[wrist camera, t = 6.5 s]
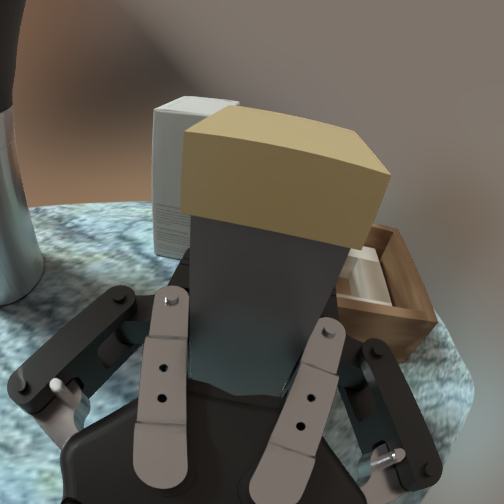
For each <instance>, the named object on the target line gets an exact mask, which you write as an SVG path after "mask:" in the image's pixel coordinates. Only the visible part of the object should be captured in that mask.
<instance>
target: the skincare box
mask: <svg viewBox="0 0 504 504" xmlns="http://www.w3.org/2000/svg"><path fill="white" fill-rule="evenodd" d="M228 105H234V106H240V102H238V101H231V100H223V99H213V98H203V97H193V96H183V97H181V98H179V99H177V100H174V101H172V102H170V103H167V104H165V105H163V106H160V107H158V108H156V109H154V119H153V140H152V143H153V144H152V216H153V239H154V253H155V254H156V255H160V256H165V257H171V258H176V259H182V258H183V255H184V253H185V252H186V250H187V249H188V248H190V223H191V215H188V214H183V213H180V211H181V177H182V157H183V140H184V131H185V130H187V129H188V128H190V127H192V126H193V125H195V124H197V123H198V122H200V121H202V120H203V119H205V118H207V117H209V116H210V115H212V114H214V113H216V112H217V111H219V110H221V109H223V108H225V107H227V106H228Z"/></svg>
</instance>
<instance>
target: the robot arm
mask: <svg viewBox="0 0 504 504" xmlns="http://www.w3.org/2000/svg"><path fill="white" fill-rule="evenodd" d="M25 2H26V0H0V305H6V304H10V303H12V302H15V301H17V300H19V299H20V298H22V297H24V296H25V295H26V294H27V293H29V292H30V291H31V290H32V289H33V288H34V286H35V285H36V284H37V282H38V281H39V280H40V278H41V276H42V273H43V270H44V260H43V257H42V254H41V251H40V248H39V245H38V242H37V238H36V235H35V232H34V228H33V224H32V221H31V217H30V213H29V209H28V205H27V201H26V197H25V192H24V188H23V183H22V178H21V173H20V166H19V161H18V154H17V147H16V138H15V130H14V119H13V107H12V105H13V103H12V89H13V82H14V76H15V68H16V55H17V45H18V37H19V31H20V25H21V20H22V16H23V11H24V7H25ZM189 268H190V248H188V249H187V250H186V252H185V253H184V255H183V258H182V259H181V261H180V263H179V265H178V267H177V268H176V270H175V272H174V274H173V276H172V278H171V280H170V282H169V284H168V286H166V287H163V288H161V289H160V290H158V291H157V293H156V294H155V295H149V296H135V293H134V291H133V290H132V289H131V288H129V287H127V286H121V285H120V286H114V287H112V288H110V289H108V290H107V291H106V292H105V293H103V294H102V295H101V296H100V297H99V298H97V299H96V300H95V301H94V302H93V303H91V304H90V305H89V306H88V307H87V308H85V309H84V310H83V311H82V312H81V313H79V314H78V315H77V316H76V317H75V318H73V319H72V320H71V321H70V322H69V323H68V324H67V325H65V326H64V327H63V328H62V329H61V330H60V331H58V332H57V333H56V334H55V335H54V336H53V337H52V338H51V339H49V340H48V341H47V342H46V343H45V344H44V345H43V346H42V347H41V348H39V349H38V350H37V351H36V352H35V353H34V354H33V355H32V356H31V357H30V358H29V359H28V360H26V361H25V362H24V363H23V364H22V365H21V366H20V367H19V368H18V369H17V370H16V371H15V372H14V373H13V374H12V375H11V376H10V378H9V380H8V384H7V391H8V394H9V396H10V398H11V399H12V400H13V401H14V402H15V403H16V404H17V405H19V406H20V407H21V409H22V410H23V411H24V412H26V413H27V414H28V415H29V416H31V417H32V418H33V419H34V420H35V421H36V422H37V423H38V424H39V426H40V427H41V428H42V429H43V430H44V431H45V433H46V434H47V435H48V436H49V437H50V438H51V439H52V441H53V442H54V443H55V444H56V445H57V446H58V447H59V448H60V449H61V454H60V467H61V472H62V478H63V498H62V501H61V504H386V503H388V502H390V501H392V500H394V499H396V498H398V497H400V496H401V495H404V494H407V493H411V492H414V491H418V490H421V489H424V488H427V487H430V486H433V485H434V484H436V483H437V482H438V480H439V479H440V477H441V475H442V470H443V467H442V462H441V459H440V457H439V454H438V452H437V449H436V447H435V444H434V442H433V439H432V437H431V435H430V432H429V430H428V427H427V425H426V423H425V421H424V418H423V416H422V414H421V411H420V409H419V407H418V405H417V403H416V400H415V398H414V396H413V394H412V392H411V390H410V388H409V385H408V383H407V381H406V379H405V377H404V375H403V373H402V371H401V369H400V367H399V365H398V363H397V361H396V359H395V357H394V355H393V353H392V351H391V349H390V348H389V346H388V345H387V344H386V343H385V342H384V341H382V340H380V339H377V338H370V339H368V340H366V341H365V342H364V343H363V342H361V341H358V340H356V339H354V338H352V337H350V336H349V335H347V334H346V332H345V329H344V327H343V325H342V324H341V323H340V322H339V315H338V305H337V297H336V296H337V295H336V285H335V286H334V288H333V290H332V293H331V295H330V297H329V299H328V301H327V303H326V305H325V307H324V310H323V312H322V314H321V316H320V318H319V320H318V322H317V324H316V326H315V328H314V330H313V332H312V334H311V336H310V337H309V339H308V341H307V343H306V345H305V347H304V349H303V351H302V353H301V355H300V357H299V359H298V361H297V363H296V364H295V366H294V367H293V369H292V371H291V373H290V376H289V378H288V380H287V383H286V385H285V388H284V390H283V392H282V394H281V396H280V397H276V396H270V395H243V396H236V395H232V394H230V393H228V392H226V391H223V390H221V389H219V388H217V387H215V386H213V385H211V384H209V383H205V382H201V381H197V380H193V379H190V374H189V365H190V303H189ZM141 344H144V351H143V359H142V368H141V377H140V388H139V397H138V398H136V399H135V400H133V401H131V402H130V403H128V404H126V405H125V406H123V407H121V408H120V409H118V410H116V411H114V412H113V413H111V414H109V415H107V416H106V417H104V418H102V419H100V420H99V421H97V422H95V423H93V424H91V425H90V426H88V427H86V428H84V421H85V419H86V417H87V416H88V414H89V412H90V407H91V406H90V401H89V398H90V397H91V396H92V395H93V394H94V393H95V392H96V391H97V390H98V389H99V388H100V387H101V386H102V385H103V384H104V383H105V382H106V381H107V380H108V379H109V377H110V376H111V375H112V374H113V373H114V372H115V371H116V370H117V369H118V368H119V367H120V366H121V365H122V364H123V363H124V362H125V361H126V360H127V359H128V358H129V357H130V356H131V355H132V354H133V353H134V352H135V351H136V350H137V349H138V348H139V347H140V346H141ZM337 386H338V389H339V392H340V394H341V397H342V400H343V402H344V405H345V408H346V411H347V413H348V416H349V419H350V421H351V424H352V427H353V430H354V433H355V435H356V438H357V441H358V444H359V447H360V450H361V452H362V455H363V456H362V457H361V458H360V459H359V461H358V465H357V473H358V480H357V482H355V481H354V479H353V478H352V477H351V475H350V474H349V473H348V471H347V470H346V469H345V467H344V466H343V464H342V463H341V462H340V460H339V459H338V458H337V456H336V455H335V453H334V452H333V451H332V449H331V448H330V446H329V445H328V444H327V442H326V441H325V439H324V438H323V436H322V434H323V431H324V428H325V425H326V421H327V418H328V415H329V412H330V409H331V405H332V402H333V398H334V395H335V391H336V388H337Z"/></svg>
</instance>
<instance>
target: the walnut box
mask: <svg viewBox="0 0 504 504" xmlns="http://www.w3.org/2000/svg"><path fill="white" fill-rule="evenodd" d="M335 285H336V295H337V296H336V297H337V305H338V315H339V322H340V323H341V324H342V325H343V327H344V329H345V332H346V334H347V335H349V336H350V337H352V338H354V339H356V340H358V341H361V342H363V343H364V342H365V341H366V340H368V339H370V338H377V339H380V340H382V341H384V342H385V343H386V344H387V345H388V346H389V348H390V349H391V351H392V353H393V355H394V357H395V359H396V361H397V363H403V362H404V361H405V360H406V359H407V358H408V357H409V356H410V355H411V354H412V352H413V351H414V350H415V349H416V348H417V347H418V346H419V344H420V343H421V342H422V341H423V340H424V339H425V337H426V336H427V335H428V334H429V333H430V331H431V330H432V329H433V328H434V327H435V325H436V324H437V323H438V321H437V318H436V315H435V313H434V310H433V307H432V305H431V302H430V300H429V297H428V294H427V292H426V289H425V287H424V285H423V282H422V280H421V277H420V275H419V273H418V270H417V268H416V266H415V264H414V262H413V259H412V257H411V255H410V253H409V250H408V249H407V246H406V244H405V242H404V240H403V238H402V236H401V234H400V232H399V230H398V229H395V228H392V227H388V226H384V225H381V224H377V223H373V224H372V227H371V229H370V232H369V234H368V236H367V239H366V241H365V243H364V246H363V248H362V250H361V251H360V250H356V249H352V248H351V249H350V252H349V254H348V256H347V259H346V261H345V263H344V266H343V268H342V270H341V273H340V275H339V277H338V279H337V282H336V284H335Z"/></svg>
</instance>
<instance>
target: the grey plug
mask: <svg viewBox="0 0 504 504" xmlns="http://www.w3.org/2000/svg"><path fill="white" fill-rule="evenodd" d="M390 177H391V174H390V173H389V172H388V171H387V169H386V168H385V167H384V166H383V165H382V163H381V162H380V161H379V159H378V158H377V157H376V156H375V155H374V154H373V152H372V151H371V150H370V149H369V148H368V146H367V145H366V144H365V143H364V142H363V141H362V140H361V138H360V137H359V136H358V135H357V134H356V133H355V132H354V131H352V130H348V129H345V128H341V127H337V126H334V125H330V124H326V123H322V122H318V121H314V120H310V119H305V118H301V117H296V116H292V115H287V114H281V113H277V112H271V111H265V110H260V109H254V108H248V107H240V106H234V105H228V106H227V107H225V108H223V109H221V110H219V111H217V112H216V113H214V114H212V115H210V116H209V117H207V118H205V119H203V120H202V121H200V122H198V123H197V124H195V125H193V126H192V127H190V128H188V129H187V130H185V131H184V140H183V157H182V177H181V211H180V213H183V214H188V215H191V223H190V268H189V303H190V347H191V371H192V379H193V380H197V381H201V382H205V383H209V384H211V385H213V386H215V387H217V388H219V389H221V390H223V391H226V392H228V393H230V394H232V395H236V396H243V395H270V396H276V397H277V396H278V395H279V393H280V391H281V390H282V388H283V386H284V384H285V383H286V381H287V379H288V377H289V375H290V373H291V371H292V369H293V367H294V366H295V364H296V363H297V361H298V359H299V357H300V355H301V353H302V351H303V349H304V347H305V345H306V343H307V341H308V339H309V337H310V336H311V334H312V332H313V330H314V328H315V326H316V324H317V322H318V320H319V318H320V316H321V314H322V312H323V310H324V307H325V305H326V303H327V301H328V299H329V297H330V295H331V293H332V290H333V288H334V286H335V284H336V282H337V279H338V277H339V275H340V273H341V270H342V268H343V266H344V263H345V261H346V259H347V256H348V254H349V252H350V249H351V248H352V249H356V250H360V251H361V250H362V248H363V246H364V243H365V241H366V239H367V236H368V234H369V232H370V229H371V227H372V224H373V222H374V219H375V217H376V214H377V212H378V209H379V207H380V204H381V202H382V199H383V196H384V194H385V191H386V188H387V186H388V183H389V180H390Z"/></svg>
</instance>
